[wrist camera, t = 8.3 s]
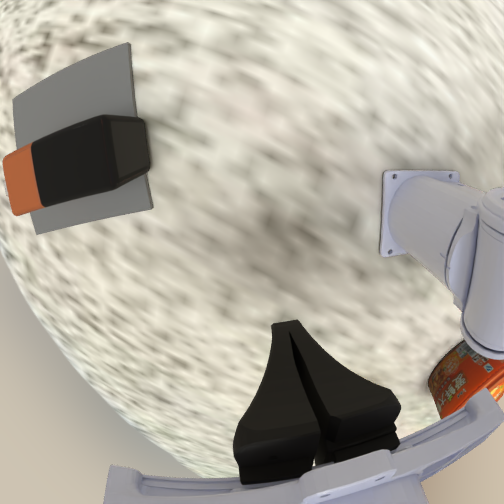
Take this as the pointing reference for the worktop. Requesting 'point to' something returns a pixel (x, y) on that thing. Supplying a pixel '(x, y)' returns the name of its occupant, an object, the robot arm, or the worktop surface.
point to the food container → (464, 378)
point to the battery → (76, 162)
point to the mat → (74, 111)
